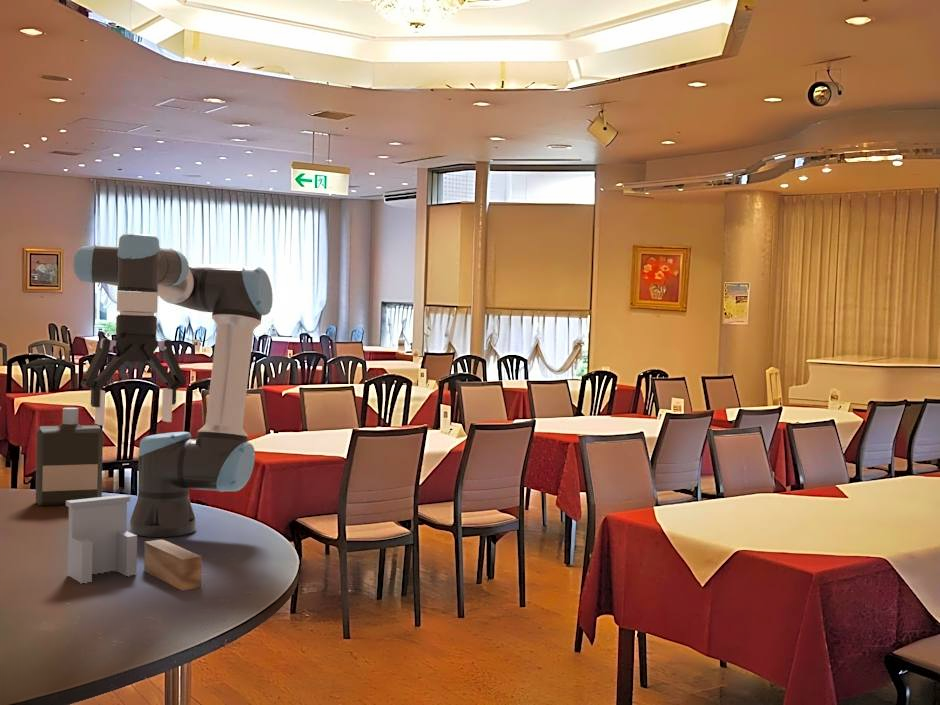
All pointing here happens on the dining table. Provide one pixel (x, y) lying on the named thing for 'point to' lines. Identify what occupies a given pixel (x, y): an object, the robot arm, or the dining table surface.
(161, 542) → the rail
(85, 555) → the grey u-shaped bracket
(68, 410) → the bottle
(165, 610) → the dining table surface
